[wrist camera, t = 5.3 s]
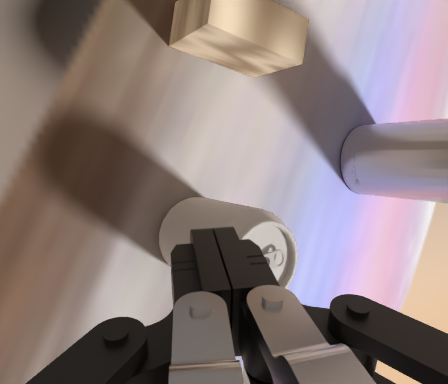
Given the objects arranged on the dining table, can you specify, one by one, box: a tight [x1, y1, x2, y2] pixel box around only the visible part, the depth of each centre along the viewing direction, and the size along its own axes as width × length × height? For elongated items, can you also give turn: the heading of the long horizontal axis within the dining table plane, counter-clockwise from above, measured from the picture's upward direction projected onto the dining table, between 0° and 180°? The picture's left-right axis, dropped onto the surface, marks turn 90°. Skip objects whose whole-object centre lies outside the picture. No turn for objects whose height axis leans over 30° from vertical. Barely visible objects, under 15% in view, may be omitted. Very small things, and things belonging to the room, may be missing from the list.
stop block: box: [169, 0, 309, 77], centre depth 34 cm, size 10×4×7 cm, turn 79°
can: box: [159, 197, 298, 289], centre depth 32 cm, size 8×8×12 cm
